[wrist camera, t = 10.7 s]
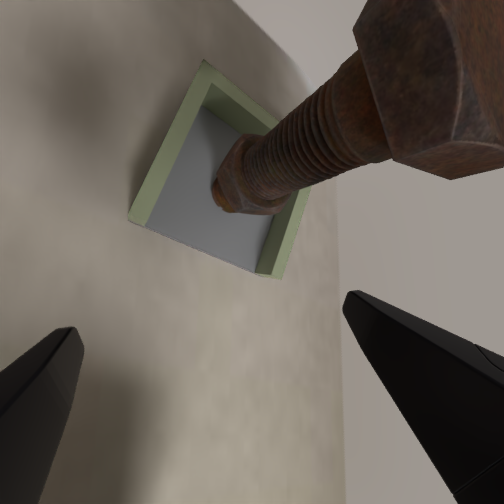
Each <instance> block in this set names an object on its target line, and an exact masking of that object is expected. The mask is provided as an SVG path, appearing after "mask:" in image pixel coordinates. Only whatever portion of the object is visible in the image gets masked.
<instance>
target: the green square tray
mask: <svg viewBox="0 0 504 504" xmlns="http://www.w3.org/2000/svg"><path fill="white" fill-rule="evenodd" d="M278 123H279V121H278V120H276V119H275V118H274V117H273V116H272V115H270V114H269V113H268V112H267V111H266V110H264V109H263V108H262V107H261V106H260V105H258V104H257V103H256V102H255V101H254V100H252V99H251V98H250V97H249V96H247V95H246V94H245V93H244V92H243V91H241V90H240V89H239V88H238V87H237V86H235V85H234V84H233V83H232V82H231V81H229V80H228V79H227V78H226V77H225V76H223V75H222V74H221V73H220V72H219V71H217V70H216V69H215V68H214V67H212V66H211V65H210V64H209V63H208V62H206V61H205V60H204V59H203V61H202V63H201V65H200V67H199V69H198V71H197V73H196V75H195V77H194V79H193V81H192V83H191V85H190V88H189V90H188V92H187V94H186V96H185V98H184V100H183V102H182V104H181V106H180V108H179V110H178V112H177V114H176V116H175V118H174V120H173V122H172V125H171V127H170V129H169V131H168V133H167V135H166V137H165V139H164V141H163V143H162V145H161V147H160V149H159V151H158V153H157V155H156V157H155V159H154V162H153V164H152V166H151V168H150V170H149V172H148V174H147V176H146V178H145V180H144V182H143V184H142V186H141V188H140V190H139V192H138V194H137V197H136V199H135V201H134V203H133V205H132V207H131V209H130V211H129V213H128V221H130V222H133V223H135V224H138V225H140V226H142V227H145V228H147V229H149V230H152V231H154V232H157V233H159V234H161V235H164V236H166V237H168V238H171V239H173V240H176V241H178V242H180V243H183V244H185V245H187V246H190V247H192V248H195V249H197V250H199V251H202V252H204V253H206V254H209V255H211V256H214V257H216V258H218V259H221V260H223V261H225V262H228V263H230V264H233V265H235V266H237V267H240V268H242V269H244V270H247V271H249V272H252V273H254V274H256V275H259V276H261V277H267V278H274V279H280V280H282V277H283V273H284V270H285V267H286V264H287V261H288V258H289V255H290V252H291V249H292V246H293V242H294V239H295V236H296V233H297V230H298V227H299V224H300V221H301V218H302V215H303V211H304V208H305V205H306V202H307V199H308V196H309V193H310V190H311V187H312V185H311V186H309V187H306V188H303V189H300V190H297V191H293V192H292V194H291V196H290V198H289V200H288V201H287V203H286V205H285V206H284V207H283V209H282V210H281V211H280V213H277V214H273V215H250V214H242V213H227V212H224V211H223V210H222V209H223V208H221V207H218V206H217V205H216V203H215V202H214V200H213V197H212V186H213V183H214V181H215V179H216V178H217V175H216V173H217V171H218V169H219V167H220V165H221V163H222V162H223V160H224V158H225V157H226V155H227V154H228V152H229V150H230V149H231V148H232V146H233V145H234V143H235V142H236V141H237V140H238V139H239V138H240V137H241V135H242V134H243V133H245V134H257V135H263V136H265V135H266V134H267V133H268V132H269V131H270V130H272V129H273V128H274V127H275V126H276V125H277V124H278Z"/></svg>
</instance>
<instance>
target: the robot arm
mask: <svg viewBox="0 0 504 504" xmlns="http://www.w3.org/2000/svg"><path fill="white" fill-rule="evenodd" d="M342 309H343V314H344V316H345V318H346V320H347V322H348V324H349V326H350V328H351V330H352V332H353V333H354V336H355V338H356V339H357V342H358V344H359V345H360V347H361V349H362V351H363V352H364V354H365V356H366V357H367V359H368V361H369V362H370V364H371V365H372V367H373V369H374V370H375V372H376V373H377V375H378V377H379V378H380V380H381V381H382V383H383V385H384V386H385V388H386V389H387V391H388V393H389V394H390V395H391V397H392V399H393V401H394V402H395V404H396V405H397V407H398V408H399V410H400V411H401V413H402V415H403V417H404V418H405V420H406V421H407V423H408V424H409V426H410V428H411V429H412V431H413V432H414V434H415V436H416V437H417V439H418V440H419V442H420V444H421V445H422V447H423V448H424V450H425V452H426V453H427V455H428V456H429V458H430V460H431V461H432V463H433V464H434V466H435V468H436V469H437V470H438V472H439V474H440V475H441V477H442V479H443V480H444V482H445V484H446V485H447V487H448V488H449V490H450V492H451V493H452V494H453V497H454V498H455V500H456V501H457V503H458V504H504V357H503V356H501V355H498V354H496V353H494V352H492V351H489V350H487V349H485V348H483V347H481V346H479V345H477V344H473V343H472V342H470V341H468V340H466V339H463V338H461V337H459V336H457V335H455V334H453V333H450V332H448V331H446V330H444V329H442V328H440V327H438V326H435V325H433V324H431V323H429V322H427V321H425V320H423V319H420V318H418V317H416V316H414V315H412V314H410V313H407V312H405V311H403V310H401V309H399V308H397V307H395V306H392V305H390V304H388V303H386V302H384V301H382V300H379V299H377V298H375V297H373V296H371V295H369V294H367V293H364V292H362V291H360V290H355V291H349V292H348V293H347V296H346V298H345V301H344V304H343V308H342ZM83 356H84V345H83V343H82V340H81V338H80V335H79V333H78V331H77V329H76V328H75V327H64V328H58V329H56V330H54V331H53V332H51V333H50V334H49V335H48V336H46V337H45V338H44V339H42V340H41V341H40V342H39V343H37V344H36V345H35V346H33V347H32V348H31V349H29V350H28V351H27V352H26V353H24V354H23V355H22V356H20V357H19V358H18V359H17V360H15V361H14V362H13V363H11V364H10V365H9V366H8V367H6V368H5V369H4V370H2V371H1V372H0V504H38V502H39V500H40V497H41V494H42V491H43V488H44V485H45V482H46V480H47V477H48V474H49V471H50V468H51V465H52V462H53V460H54V457H55V454H56V451H57V448H58V445H59V442H60V440H61V437H62V434H63V431H64V428H65V425H66V422H67V420H68V416H69V413H70V410H71V406H72V403H73V399H74V394H75V390H76V386H77V381H78V377H79V373H80V369H81V364H82V360H83Z"/></svg>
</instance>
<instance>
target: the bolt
mask: <svg viewBox="0 0 504 504" xmlns="http://www.w3.org/2000/svg"><path fill="white" fill-rule="evenodd" d="M353 33H354V36H355V40H356V43H357V46H358V50H357V51H356V52H355V53H354V54H353V55H352V56H350V57H349V58H348V59H347V60H346V61H345V62H344V63H342V64H341V66H340V68H339V69H338V71H337V72H336V73H335V74H334V75H333V77H331V78H330V79H329V80H328V81H327V82H325V84H324V85H322V86H320V87H319V88H318V89H317V90H316V91H315V92H314V93H313V94H312V95H310V96H309V97H308V98H306V99H305V101H304V102H302V103H301V104H300V105H299V106H298V107H297V108H295V109H294V110H293V111H292V112H290V113H289V114H288V115H287V116H286V117H285V118H284V119H283V120H281V121H280V122H279V123H278V124H277V125H276V126H275V127H274V128H273V129H272V130H270V131H269V132H268V133H267V134H266V135H265V136H263V135H257V134H245V133H243V134H242V135H241V137H240V138H239V139H238V140H237V141H236V142H235V143H234V145H233V146H232V148H231V149H230V150H229V152H228V154H227V155H226V157H225V158H224V160H223V162H222V163H221V165H220V167H219V169H218V171H217V173H216V175H217V178H216V179H215V181H214V183H213V186H212V197H213V200H214V202H215V203H216V205H217V206H218V207H221V208H223V209H222V210H223V211H224V212H227V213H242V214H250V215H273V214H277V213H280V211H281V210H282V209H283V207H284V206H285V205H286V203H287V201H288V200H289V198H290V196H291V194H292V192H293V191H297V190H300V189H303V188H306V187H309V186H311V185H314V184H317V183H319V182H322V181H324V180H326V179H331V178H332V177H334V176H338V175H339V174H341V173H344V172H346V171H348V170H351V169H354V168H357V167H360V166H363V165H367V164H369V163H380V162H383V161H385V160H388V159H391V158H392V159H393V161H395V162H398V163H401V164H405V165H407V166H410V167H413V168H416V169H419V170H422V171H425V172H428V173H431V174H434V175H437V176H440V177H443V178H446V179H449V180H453V179H457V178H462V177H466V176H470V175H474V174H478V173H483V172H486V171H491V170H495V169H499V168H503V167H504V0H368V1H367V2H366V4H365V6H364V8H363V10H362V12H361V14H360V16H359V18H358V19H357V22H356V23H355V25H354V27H353Z"/></svg>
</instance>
